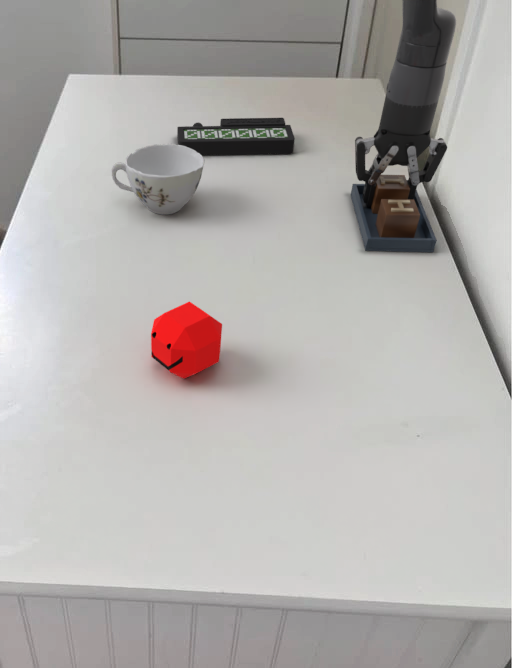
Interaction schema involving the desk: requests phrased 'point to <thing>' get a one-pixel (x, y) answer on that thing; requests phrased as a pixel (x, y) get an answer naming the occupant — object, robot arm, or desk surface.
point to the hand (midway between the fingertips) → (386, 204)
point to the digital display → (239, 137)
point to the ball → (186, 340)
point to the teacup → (162, 176)
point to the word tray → (373, 242)
